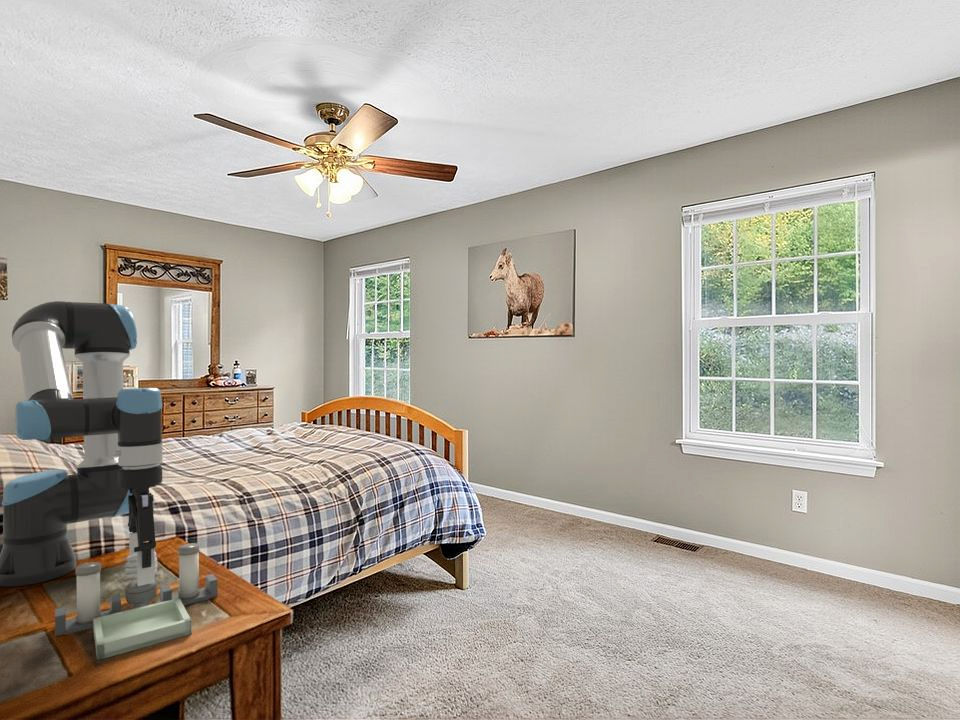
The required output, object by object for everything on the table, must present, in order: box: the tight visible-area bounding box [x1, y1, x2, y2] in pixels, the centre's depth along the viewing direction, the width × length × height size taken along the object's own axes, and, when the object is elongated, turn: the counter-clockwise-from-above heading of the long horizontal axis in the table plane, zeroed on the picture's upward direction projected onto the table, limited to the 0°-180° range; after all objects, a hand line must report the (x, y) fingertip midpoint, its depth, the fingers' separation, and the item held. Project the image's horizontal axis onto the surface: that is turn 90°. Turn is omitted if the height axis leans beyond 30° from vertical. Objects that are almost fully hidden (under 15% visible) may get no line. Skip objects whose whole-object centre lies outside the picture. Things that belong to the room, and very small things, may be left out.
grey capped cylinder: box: [177, 542, 200, 600], centre depth 114 cm, size 4×4×10 cm
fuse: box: [75, 561, 102, 625], centre depth 103 cm, size 4×4×10 cm
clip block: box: [54, 573, 218, 637], centre depth 109 cm, size 5×27×4 cm, turn 128°
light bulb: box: [123, 550, 158, 609], centre depth 109 cm, size 6×6×12 cm
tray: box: [92, 598, 192, 661], centre depth 100 cm, size 12×14×2 cm
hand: (141, 573), depth 108 cm, fingers open, 13 cm apart
